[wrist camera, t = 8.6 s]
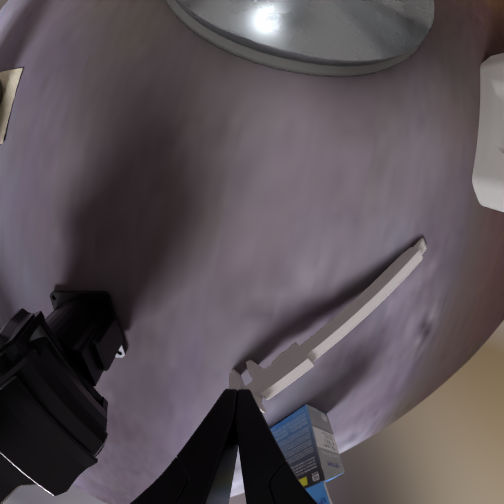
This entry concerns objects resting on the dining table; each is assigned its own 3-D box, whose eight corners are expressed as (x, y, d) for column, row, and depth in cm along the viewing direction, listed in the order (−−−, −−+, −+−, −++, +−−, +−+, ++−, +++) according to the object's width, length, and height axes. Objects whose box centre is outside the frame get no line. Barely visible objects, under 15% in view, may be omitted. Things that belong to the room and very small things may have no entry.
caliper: (236, 375, 24) (237, 428, 18) (229, 368, 24) (228, 422, 18) (424, 245, 21) (470, 272, 15) (420, 235, 21) (467, 260, 15)
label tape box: (272, 448, 28) (282, 531, 16) (247, 438, 27) (252, 529, 15) (327, 413, 26) (357, 505, 15) (304, 401, 25) (330, 503, 14)
